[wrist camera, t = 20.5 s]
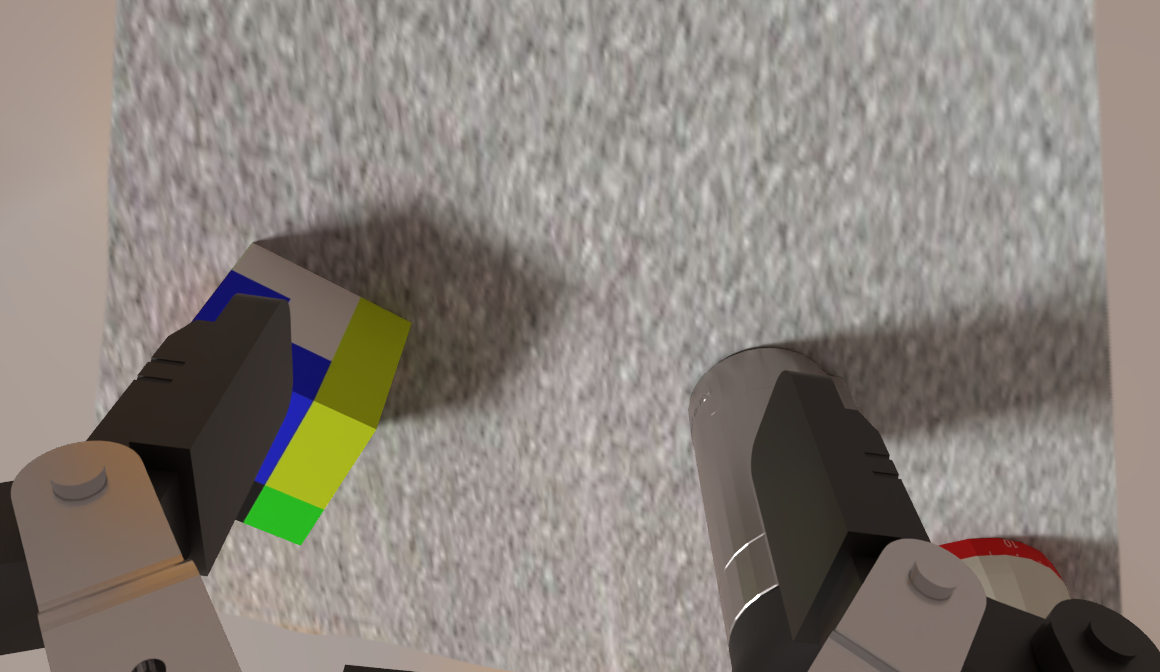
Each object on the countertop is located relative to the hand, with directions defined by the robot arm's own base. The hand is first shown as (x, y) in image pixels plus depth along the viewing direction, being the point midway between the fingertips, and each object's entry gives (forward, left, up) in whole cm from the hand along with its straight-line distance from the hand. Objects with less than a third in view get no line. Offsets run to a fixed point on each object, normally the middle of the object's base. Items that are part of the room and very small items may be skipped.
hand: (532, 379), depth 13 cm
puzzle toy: (+13, +22, -30) cm, 40 cm away
